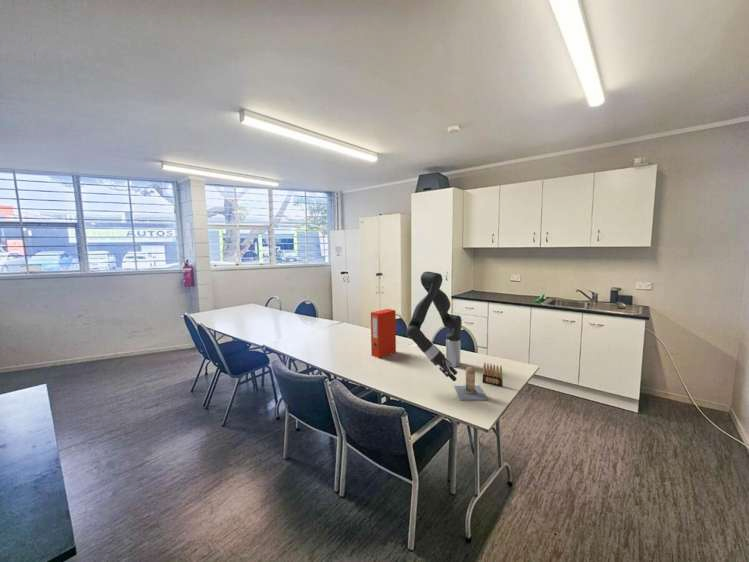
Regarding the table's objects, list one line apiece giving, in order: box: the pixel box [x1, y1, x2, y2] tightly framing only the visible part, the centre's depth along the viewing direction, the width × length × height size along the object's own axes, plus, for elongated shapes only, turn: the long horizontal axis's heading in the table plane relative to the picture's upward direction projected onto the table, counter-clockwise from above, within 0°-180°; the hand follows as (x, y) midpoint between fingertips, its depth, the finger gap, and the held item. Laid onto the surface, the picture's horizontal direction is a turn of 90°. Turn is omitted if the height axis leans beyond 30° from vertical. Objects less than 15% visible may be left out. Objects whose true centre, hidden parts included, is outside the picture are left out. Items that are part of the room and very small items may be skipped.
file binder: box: [370, 308, 397, 359], centre depth 231 cm, size 8×17×32 cm, turn 132°
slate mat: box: [453, 385, 489, 402], centre depth 169 cm, size 16×14×1 cm
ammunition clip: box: [482, 362, 504, 388], centre depth 179 cm, size 11×2×12 cm, turn 54°
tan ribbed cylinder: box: [464, 366, 476, 395], centre depth 168 cm, size 6×6×13 cm
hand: (455, 377), depth 171 cm, fingers open, 8 cm apart
